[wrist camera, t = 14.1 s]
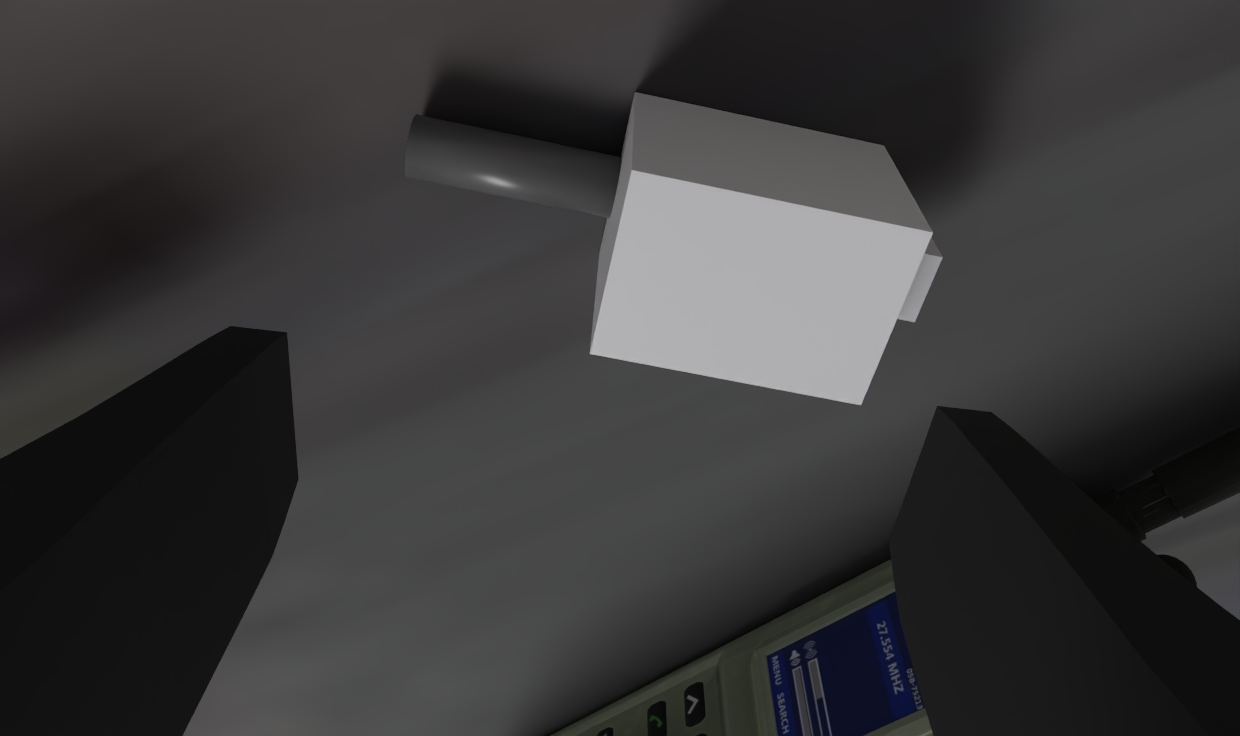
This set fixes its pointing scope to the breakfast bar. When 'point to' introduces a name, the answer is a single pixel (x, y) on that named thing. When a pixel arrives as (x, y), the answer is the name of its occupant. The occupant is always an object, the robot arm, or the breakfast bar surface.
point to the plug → (722, 239)
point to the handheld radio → (864, 641)
